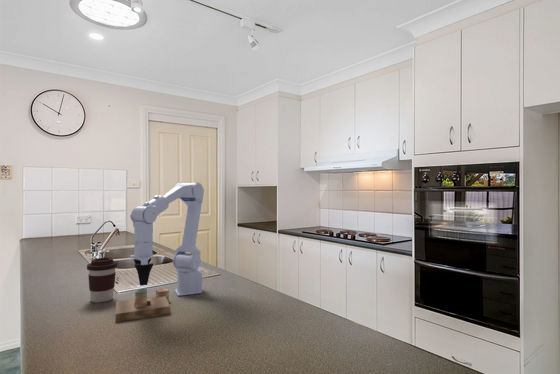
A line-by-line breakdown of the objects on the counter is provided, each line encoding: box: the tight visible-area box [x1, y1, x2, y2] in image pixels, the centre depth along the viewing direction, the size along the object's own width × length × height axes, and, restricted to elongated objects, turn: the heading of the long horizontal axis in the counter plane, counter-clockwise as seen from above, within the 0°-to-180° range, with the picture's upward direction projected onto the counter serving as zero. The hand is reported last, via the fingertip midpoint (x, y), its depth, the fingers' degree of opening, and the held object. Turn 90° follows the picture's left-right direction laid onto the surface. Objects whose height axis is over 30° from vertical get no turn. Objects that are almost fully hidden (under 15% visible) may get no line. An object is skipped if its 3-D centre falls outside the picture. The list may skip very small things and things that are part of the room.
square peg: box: [134, 288, 148, 308], centre depth 109 cm, size 4×4×7 cm
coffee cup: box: [86, 257, 118, 304], centre depth 121 cm, size 10×10×15 cm
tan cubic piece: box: [155, 287, 170, 303], centre depth 120 cm, size 4×4×4 cm
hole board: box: [115, 296, 171, 323], centre depth 109 cm, size 16×12×2 cm
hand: (142, 282), depth 110 cm, fingers open, 7 cm apart
